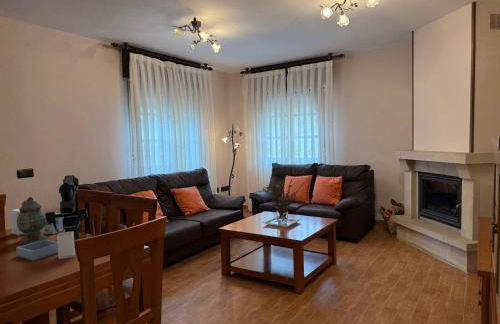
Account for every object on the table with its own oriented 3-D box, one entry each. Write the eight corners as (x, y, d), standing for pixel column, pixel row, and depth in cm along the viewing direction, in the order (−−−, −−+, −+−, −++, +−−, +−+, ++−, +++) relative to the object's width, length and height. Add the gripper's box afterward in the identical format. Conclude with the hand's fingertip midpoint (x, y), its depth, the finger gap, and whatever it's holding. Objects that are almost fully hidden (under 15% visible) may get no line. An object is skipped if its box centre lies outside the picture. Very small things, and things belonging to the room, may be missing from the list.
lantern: (19, 245, 180) (15, 200, 179) (17, 239, 191) (14, 197, 190) (48, 239, 189) (45, 196, 187) (45, 234, 200) (42, 194, 199)
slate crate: (45, 247, 174) (45, 239, 174) (61, 251, 167) (61, 242, 167) (16, 256, 162) (16, 247, 161) (32, 260, 155) (32, 251, 155)
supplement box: (18, 235, 200) (16, 211, 199) (11, 233, 204) (9, 210, 203) (34, 231, 207) (32, 208, 206) (27, 230, 212) (25, 207, 211)
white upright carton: (60, 255, 162) (58, 233, 162) (74, 252, 165) (73, 231, 164) (58, 259, 156) (57, 236, 156) (73, 256, 159) (72, 234, 158)
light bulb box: (53, 234, 201) (51, 216, 200) (43, 233, 202) (42, 216, 201) (66, 229, 211) (65, 213, 210) (57, 229, 213) (56, 212, 212)
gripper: (44, 196, 165) (42, 222, 156) (85, 193, 173) (85, 218, 163) (48, 209, 173) (46, 235, 163) (87, 205, 180) (87, 229, 171)
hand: (66, 229), depth 165 cm, fingers open, 9 cm apart
